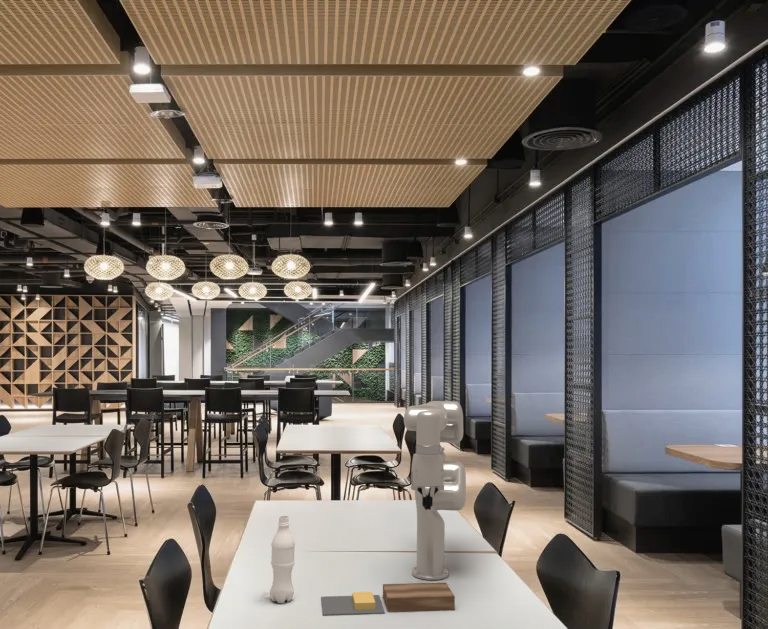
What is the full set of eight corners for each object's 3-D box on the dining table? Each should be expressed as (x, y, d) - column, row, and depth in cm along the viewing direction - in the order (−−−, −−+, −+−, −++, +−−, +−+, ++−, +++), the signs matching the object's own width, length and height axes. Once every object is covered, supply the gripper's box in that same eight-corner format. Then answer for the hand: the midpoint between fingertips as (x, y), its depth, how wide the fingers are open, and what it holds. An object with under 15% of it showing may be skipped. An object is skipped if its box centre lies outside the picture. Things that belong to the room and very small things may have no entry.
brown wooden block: (382, 597, 205) (382, 584, 206) (445, 595, 208) (445, 582, 208) (387, 612, 193) (387, 598, 194) (454, 610, 196) (454, 596, 196)
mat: (321, 597, 204) (321, 596, 204) (379, 596, 206) (379, 594, 206) (322, 615, 190) (322, 614, 190) (384, 613, 192) (384, 612, 192)
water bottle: (294, 596, 205) (296, 514, 207) (292, 604, 198) (294, 519, 200) (271, 595, 205) (273, 514, 206) (268, 604, 198) (270, 519, 199)
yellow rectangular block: (371, 591, 203) (371, 598, 203) (352, 592, 203) (352, 598, 202) (375, 602, 194) (375, 609, 194) (355, 603, 194) (354, 610, 194)
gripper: (448, 448, 214) (448, 505, 213) (403, 448, 213) (402, 506, 212) (453, 451, 207) (453, 511, 206) (406, 452, 205) (405, 512, 204)
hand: (427, 508), depth 209 cm, fingers closed
